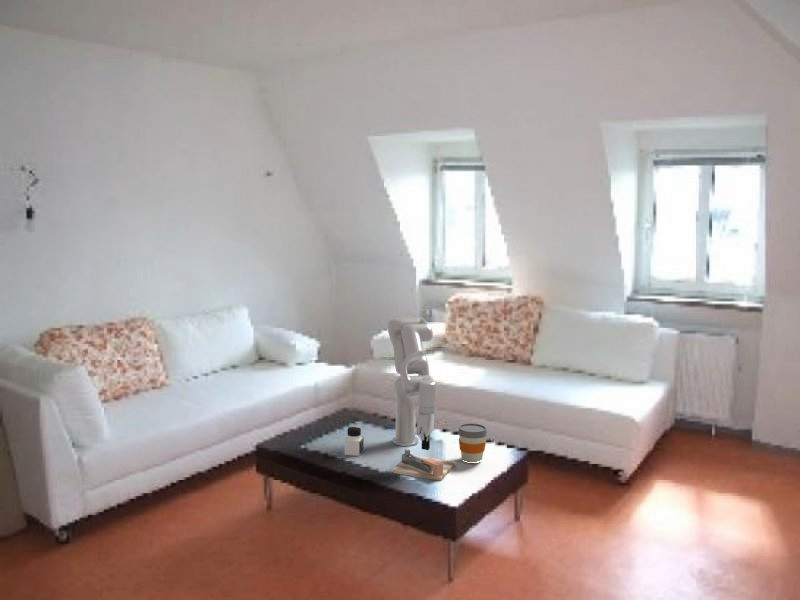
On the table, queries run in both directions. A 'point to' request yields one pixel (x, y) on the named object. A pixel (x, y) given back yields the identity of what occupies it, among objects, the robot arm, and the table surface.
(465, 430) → the reusable coffee cup
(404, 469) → the birch board
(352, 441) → the medicine bottle
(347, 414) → the table surface
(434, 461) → the keeper
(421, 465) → the steel link
